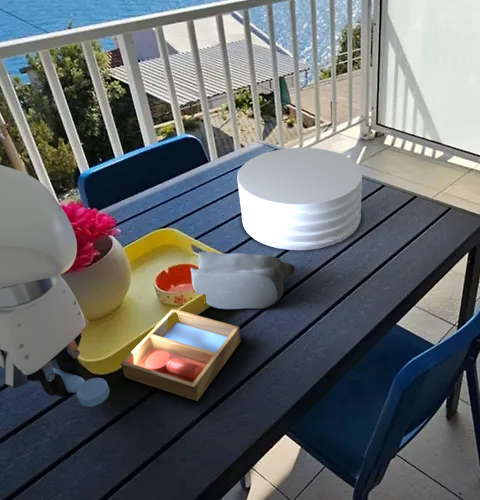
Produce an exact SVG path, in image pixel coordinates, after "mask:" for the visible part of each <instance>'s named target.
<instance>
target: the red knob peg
mask: <svg viewBox="0 0 480 500" xmlns="http://www.w3.org/2000/svg"><path fill="white" fill-rule="evenodd" d="M146 366H147V369H150V370H153V371H156V372H159V373H164V372H166V371H169V372H172V373H175V374H178V375H181V376H185V377H188V378H191V379H194V380H196V378H197V377H198V376H199V374H200V373H201V372H202V371H203V369H204V368H203V367H202V366H199V365H196V364H193V363H189V362H186V361H183V360H179V359H176V358H172V359H171V356H170V354H169V353H168V352H166V351H157V352H154V353H152V354H151V355H149V356H148V358H147V359H146Z"/></svg>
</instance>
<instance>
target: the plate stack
mask: <svg viewBox="0 0 480 500" xmlns="http://www.w3.org/2000/svg"><path fill="white" fill-rule="evenodd" d="M236 175H237V177H236V179H237V186H238V196H239V203H240V212H241V221H242V225H243V228H244V231H245V232H246V233H247V234H248V235H249V236H250V237H251V238H252V239H254V240H256V241H257V242H259V243H261V244H263V245H266V246H268V247H272V248H275V249H279V250H288V251H311V250H317V249H318V250H319V249H323V248H327V247H330V246H333V245H337V244H338V243H341V242H343V241H344V240H346V239H348V238H349V237H351V236H352V235H353V234H354V233H355V232H356V230H357V229H358V228H359V226H360V224H361V218H362V217H361V216H362V197H363V195H362V191H363V171H362V168H361V167H360V166H359V164H358V163H357V162H356V161H354V160H353V159H352V158H350V157H348V156H347V155H344V154H342V153H339V152H337V151H333V150H328V149H324V148H317V147H288V148H280V149H275V150H271V151H267V152H264V153H260V154H259V155H256V156H254V157H252V158H250V159H249V160H247V161H246V162H245V163H243V165H242V166H241V167H240V168H239V170H238V172H237V174H236Z"/></svg>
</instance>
